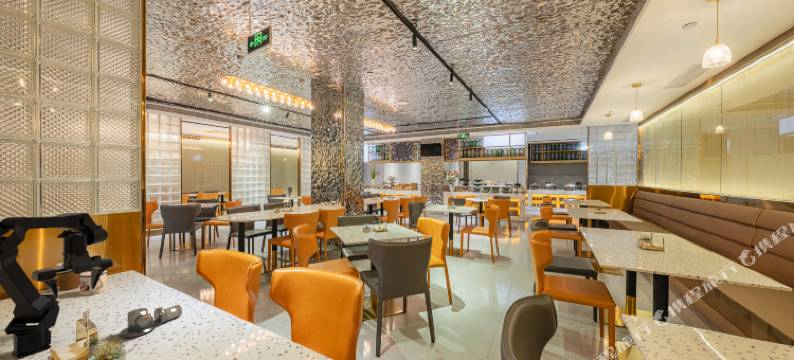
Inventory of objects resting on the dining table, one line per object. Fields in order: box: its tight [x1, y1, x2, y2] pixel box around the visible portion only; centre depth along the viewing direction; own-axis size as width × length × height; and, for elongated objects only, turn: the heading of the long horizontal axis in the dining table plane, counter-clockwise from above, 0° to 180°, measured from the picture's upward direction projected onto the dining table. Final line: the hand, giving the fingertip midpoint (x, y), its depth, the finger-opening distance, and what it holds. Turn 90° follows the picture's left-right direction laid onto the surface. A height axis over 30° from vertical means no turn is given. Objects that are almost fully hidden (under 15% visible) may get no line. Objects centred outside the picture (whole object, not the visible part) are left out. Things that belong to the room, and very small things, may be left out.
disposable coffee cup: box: [54, 262, 80, 292], centre depth 141 cm, size 10×10×12 cm
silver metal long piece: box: [119, 304, 183, 340], centre depth 106 cm, size 17×9×6 cm, turn 155°
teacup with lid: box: [79, 270, 108, 296], centre depth 136 cm, size 12×9×12 cm
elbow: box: [127, 307, 154, 333], centre depth 101 cm, size 9×5×6 cm, turn 65°
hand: (75, 293), depth 105 cm, fingers open, 9 cm apart
